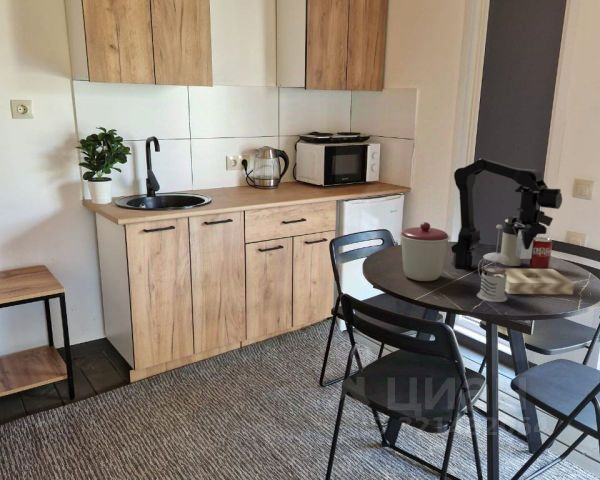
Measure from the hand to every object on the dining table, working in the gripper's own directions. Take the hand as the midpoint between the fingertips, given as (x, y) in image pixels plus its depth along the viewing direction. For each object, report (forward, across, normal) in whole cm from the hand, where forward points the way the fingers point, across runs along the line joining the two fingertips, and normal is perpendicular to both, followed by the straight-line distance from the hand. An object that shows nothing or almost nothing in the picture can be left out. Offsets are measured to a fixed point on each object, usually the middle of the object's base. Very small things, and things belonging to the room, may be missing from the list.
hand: (524, 247), depth 187 cm
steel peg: (+4, 0, 0) cm, 4 cm away
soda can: (+13, +15, -13) cm, 24 cm away
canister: (+12, +4, +36) cm, 38 cm away
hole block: (+13, -6, -1) cm, 14 cm away
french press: (+13, -16, +17) cm, 26 cm away
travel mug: (+12, +21, -4) cm, 25 cm away
